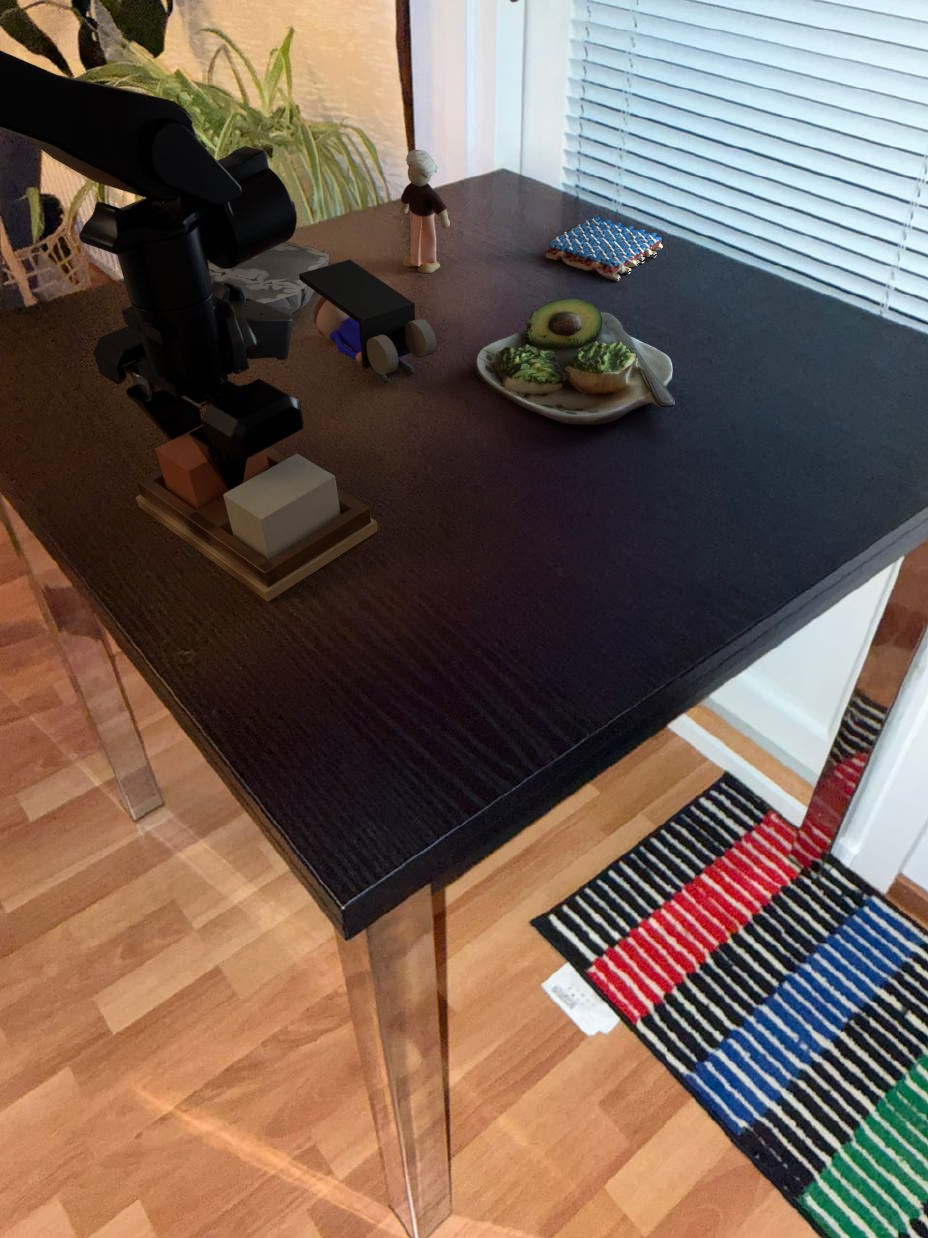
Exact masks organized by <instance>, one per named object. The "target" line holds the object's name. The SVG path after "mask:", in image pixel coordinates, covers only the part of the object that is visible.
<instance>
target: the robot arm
mask: <svg viewBox="0 0 928 1238" xmlns="http://www.w3.org/2000/svg"><path fill="white" fill-rule="evenodd" d="M193 123H194V120H193V117H192V116H191V114H190V113H189V112H188V111H187V109H185V107H183V106H181V105H180V104H178V103H177V102H176V101H174V100H171V99H167V98H163V97H159V96H156V95H155V96H154V95H150V94H147V93H143V92H138V91H134V90H130V89H126V88H121V87H117V86H114V85H113V86H112V85H108V84H104V83H100V82H94V81H89V80H85V79H81V78H75V77H70V76H66V75H61V74H56V73H54V72H52V71H49V70H47V69H44V68H43V67H40V66H38V65H35V64H33V63H31V62H28V61H26V60H24V59H21V58H19V57H16V56H15V55H12V54H10V53H8V52H5V51H3V50H0V130H2V131H5V132H8V133H11V134H14V135H17V136H18V137H20V138H21V139H24V140H25V141H27V142H28V143H31V144H33V145H34V146H36V147H37V148H38V149H40V150H41V151H42V152H44V153H45V154H46V155H48V156H49V157H50V158H52V159H53V160H55V161H57V162H59V163H60V164H62V165H64V166H65V167H67V168H69V169H71V170H73V171H75V172H76V173H78V174H79V175H81V176H83V177H84V178H87V179H88V180H91V182H92V181H93V182H95V183H97V184H100V185H103V186H107V187H110V188H113V189H116V190H120V191H122V192H126V193H130V194H132V195H136V196H138V197H141V199H138V200H136V201H134V202H130V203H129V204H126V205H124V206H122V207H118V206H115V205H112V204H109V203H106V202H102V201H97V202H96V203H95V205H94V209H93V211H92V214H91V216H90V217H89V219H88V220H87V221H86V222H85V223H84V224H83V227H82V229H81V230H80V232H79V235H78V238H79V240H80V242H81V243H83V244H85V245H88V246H91V247H94V248H96V249H99V250H102V251H105V252H107V253H110V254H113V255H116V257H117V261H118V264H119V268H120V271H121V275H122V278H123V281H124V285H125V288H126V292H127V295H128V300H129V302H130V306H128V307H126V308H123V309H121V310H120V311H121V315H122V318H123V322H124V324H125V325H126V326H123V327H121V328H119V329H117V330H114V331H112V332H109V333H107V334H104V335H102V336H100V337H99V338H98V341H97V343H96V345H95V347H94V349H93V352H92V353H93V357H94V360H95V363H96V366H97V369H98V372H99V374H100V375H101V376H103V377H105V378H106V379H108V380H109V381H111V382H112V383H114V384H115V385H120V384H122V383H124V382H125V381H126V379H127V377H128V375H127V373H128V374H129V375H130V377H131V380H132V383H133V385H132V386H129V387H128V388H126V390H125V394H126V396H127V397H128V398H129V399H131V400H132V401H133V402H134V404H136V406H138V407H139V408H140V410H141V411H142V413H144V414H145V415H146V416H147V418H149V420H151V422H153V424H154V425H155V426H156V427H157V428H158V429H159V430H160V431H161V432H162V433H163V434H164V436H165V437H166V438H167V439H168V440H169V441H171V440H173V439H175V438H177V437H179V436H181V435H183V434H185V433H187V432H189V431H191V430H193V429H196V428H198V427H200V426H202V425H203V426H202V427H200V428H198V429H196V430H194V431H192V432H190V433H189V435H190V436H191V438H192V439H193V441H194V442H195V444H196V445H197V446H198V448H199V449H200V451H201V452H202V453H203V455H204V456H205V458H206V459H207V461H208V462H209V464H210V465H211V466H212V468H213V469H214V471H215V472H216V474H217V475H218V476H219V478H220V479H221V481H222V482H223V483H224V485H225V486H226V487H227V489H228V490H229V491H230V490H232V489H234V488H235V487H237V486H239V485H241V484H243V479H244V474H245V468H246V463H247V459H248V458H250V457H252V456H253V455H255V454H257V453H259V452H261V451H263V450H265V449H266V448H268V447H270V448H271V447H272V446H274V445H276V444H278V443H280V442H282V441H284V440H285V439H287V438H289V437H291V436H292V435H294V434H296V433H299V432H300V431H302V430H304V424H305V422H304V415H303V411H302V404H301V400H299V399H297V398H296V397H293V396H292V395H290V394H288V393H287V392H285V391H283V390H281V389H279V388H277V387H276V386H273V385H272V384H270V383H269V382H266V381H265V380H262V379H260V378H257V379H255V380H253V381H251V382H249V383H247V384H240V385H239V384H236V383H234V382H233V381H231V380H229V375H230V374H232V373H233V374H235V375H239V374H241V373H243V372H245V371H247V370H249V369H250V365H249V360H260V359H276V360H278V361H285V360H287V359H289V353H290V343H291V336H292V329H293V328H292V327H293V319H294V317H292V315H290V316H289V315H287V314H285V313H283V312H281V311H279V310H277V309H275V308H273V307H271V306H269V305H267V304H264V303H261V302H257V301H254V300H252V299H250V298H246V299H245V295H244V292H243V290H242V288H241V287H239V286H237V285H235V284H233V283H230V282H228V281H214V282H213V284H212V280H211V275H210V271H209V266H208V261H207V260H209V261H210V262H211V263H212V264H214V265H216V266H217V267H219V268H222V269H231V268H233V267H236V266H238V265H240V264H242V263H244V262H246V261H248V260H250V259H252V258H254V257H256V256H258V255H260V254H262V253H264V252H266V251H268V250H270V249H272V248H274V247H276V246H278V245H280V244H282V243H284V242H289V240H291V239H292V237H293V236H294V234H295V232H296V228H297V222H298V220H297V219H298V218H297V217H298V216H297V215H298V214H297V213H298V212H297V208H296V204H295V202H294V201H293V200H292V198H291V195H290V193H289V191H288V189H287V188H286V185H285V184H284V182H283V181H282V179H281V178H280V177H279V175H278V174H276V172H275V171H273V169H272V168H270V167H269V166H270V165H269V161H268V154H267V151H265V150H263V149H260V148H255V147H252V146H247V145H243V146H241V147H239V148H236V149H235V150H232V151H231V152H230V153H229V154H228V155H227V156H225V157H222V158H220V159H216V158H215V156H214V155H212V153H211V152H210V151H209V150H208V149H207V148H206V147H205V146H204V145H203V143H202V142H201V141H200V140H199V139H198V136H197V132H196V129H195V127H194V125H193ZM206 406H207V407H206ZM204 407H206V408H205V411H204V413H203V415H202V414H201V409H202V408H204ZM201 415H202V416H201Z"/></svg>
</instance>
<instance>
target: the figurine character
mask: <svg viewBox="0 0 928 1238" xmlns="http://www.w3.org/2000/svg"><path fill="white" fill-rule="evenodd" d="M299 280H301V281H302V282H303V283H305V284H306V285H307V286H309V287H310V288H311V289H313V290H314V291H315V293H317V295H319V296H320V297H321V298H320V299H319V300H317V303H316V305H315V307H314V309H313V322H314V323H313V324H314V326H315V328H316V329H317V332H318V333H319V334H320V335H321V336H322V337H323V338H324V339H326V340H328V341H330V342H333V343H335V345H336V347H337V351H338V352H339V353H341V354H343V355H345V356H346V357H349V358H350V359H352V360H354V361H356V362H357V363H359V364H361V367H362V368H364V369H370V372H371V373H372V374H374V375H375V376H376V377H377V378H378V379H379V380H381V381H382V382H383V383H384V384H389V385H391V384H392V381H391V379H390V378H389V377H388V376H386V375H387V374H390V373H393V372H396V371H397V370H398V368H400V369H401V370H403V371H404V372H405V373H406V374H408V375H415V368H414V366H412V365H411V364H410V363H408V362H407V361H406V360H404V359H403V358H402V357H403V356H407V355H409V354H411V355H412V356H414V357H415V358H418V359H422V358H425V357H428V356H431V355H434V353H435V351H436V350H437V349H436V348H437V340H436V335H435V331H434V330H433V327H432V326H431V325H430V324H429V323H428V321H427V320H425V319H423V318H417V319H416V303H415V302H413V300H412V301H411V300H410V299H409V298H408V297H406V296H405V295H404V294H402V293H400V292H399V291H398V290H396V289H394V288H393V287H391V286H390V285H389V284H387V283H385V282H384V281H383V280H381V279H380V278H378V277H377V276H375V275H374V274H372V273H370V271H368V270H366V269H365V268H363V267H362V266H360V265H359V264H357V263H356V262H355V261H353V260H352V259H346V260H343V261H339V262H336V263H333V264H328V266H325V267H321V268H318V269H314V270H311V271H307V272H304V273H300V274H299ZM344 344H345V345H344Z"/></svg>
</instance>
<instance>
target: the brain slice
mask: <svg viewBox="0 0 928 1238" xmlns="http://www.w3.org/2000/svg"><path fill="white" fill-rule="evenodd" d="M329 260H330V255H329V253H328V252H325V251H324V250H321V249H318V248H316V247H312V246H308V245H304V244H301V243H300V244H299V243H296V242H291V241H286V242H284V243H282V244H280V245H278V246H276V247H274V248H272V249H270V250H268V251H266V252H264V253H262V254H260V255H258V256H256V257H254V258H252V259H250V260H248V261H246V262H244V263H242V264H240V265H238V266H236V267H233V268H231V269H222V268H219V267H217V266H216V265H214V264H212V263H211V262H210V261H209V260H207V261H208V266H209V271H210V275H211V280H212V284H213V282H214V281H228V282H230V283H233V284H235V285H237V286H239V287H241V288H242V290H243V292H244V295H245V299H246V298H250V299H252V300H254V301H257V302H261V303H264V304H267V305H269V306H271V307H273V308H275V309H277V310H279V311H281V312H283V313H285V314H287V315H289V316H292V315H293V314H294V313H295V312H300V310H302V309H303V308H304V307H305V306H307V304H308V303H309V302H310V301H311V299H312V296H313V295H314V294H315V293H316V291H314V290H313V289H311V288H310V287H309V286H307V285H306V284H305V283H303V282H302V281H301V280H299V274H300V273H304V272H307V271H311V270H314V269H318V268H321V267H325V266H328V265H329Z"/></svg>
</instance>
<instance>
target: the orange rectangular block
mask: <svg viewBox="0 0 928 1238" xmlns="http://www.w3.org/2000/svg"><path fill="white" fill-rule="evenodd" d="M202 426H203V425H202ZM202 426H200V427H202ZM200 427H198V428H200ZM198 428H196V429H198ZM196 429H193V430H191V431H189V432H187V433H185V434H183V435H181V436H179V437H177V438H175V439H173V440H171V441H170V440H169V441H167V442H165V443H163V444H161V445H160V446H159V445H158V447H155V449H154V450H155V453H156V456H157V459H158V463H159V466H160V469H161V470H162V473H163V476H164V480H165V483H166V487H167V490H168V491H169V492H170V493H172V494H173V495H175V496H176V497H177V498H179V499H180V500H182V501H183V502H184V503H186V504H187V505H189V506H190V507H192V508H193V509H194V510H197V509H199V508H201V507H203V506H205V505H206V504H208V503H210V502H212V501H214V500H216V499H217V498H219V497H221V496H223V494H225V493H226V492H228V491H229V490H228V489H227V487H226V486H225V485H224V483H223V482H222V481H221V479H220V478H219V476H218V475H217V474H216V472H215V471H214V469H213V468H212V466H211V465H210V464H209V462H208V461H207V459H206V458H205V456H204V455H203V453H202V452H201V451H200V449H199V448H198V446H197V445H196V444H195V442H194V441H193V439H192V438H191V436H190V435H189V433H190V432H192V431H194V430H196ZM268 469H269V466H268V461H267V456H266V451H265V450H263V451H261V452H259V453H257V454H255V455H253V456H252V457H250V458H248V459H247V463H246V468H245V474H244V479H243V483H244V482H246V481H248V480H250V479H252V478H253V477H255V476H257V475H259V474H261V473H262V472H264V471H266V470H268Z"/></svg>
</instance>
